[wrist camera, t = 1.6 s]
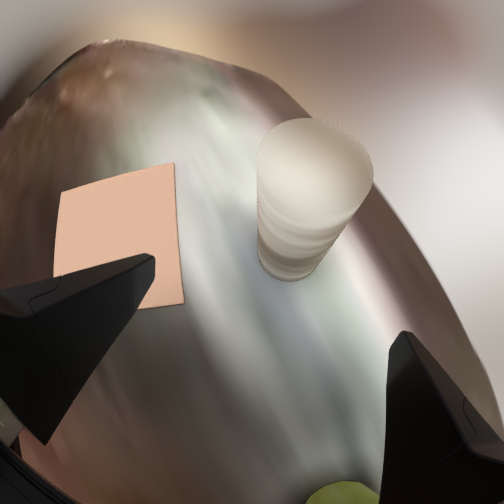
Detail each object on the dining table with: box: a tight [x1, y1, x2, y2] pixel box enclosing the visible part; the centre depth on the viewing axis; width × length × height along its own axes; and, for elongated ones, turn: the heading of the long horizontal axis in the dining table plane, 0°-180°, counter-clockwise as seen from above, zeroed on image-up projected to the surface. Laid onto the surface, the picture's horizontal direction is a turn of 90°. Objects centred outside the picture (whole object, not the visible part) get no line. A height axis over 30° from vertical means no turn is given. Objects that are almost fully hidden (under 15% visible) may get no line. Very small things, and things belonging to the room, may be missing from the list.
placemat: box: [54, 162, 185, 310], centre depth 23 cm, size 13×13×1 cm
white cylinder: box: [257, 118, 373, 282], centre depth 17 cm, size 5×5×12 cm
